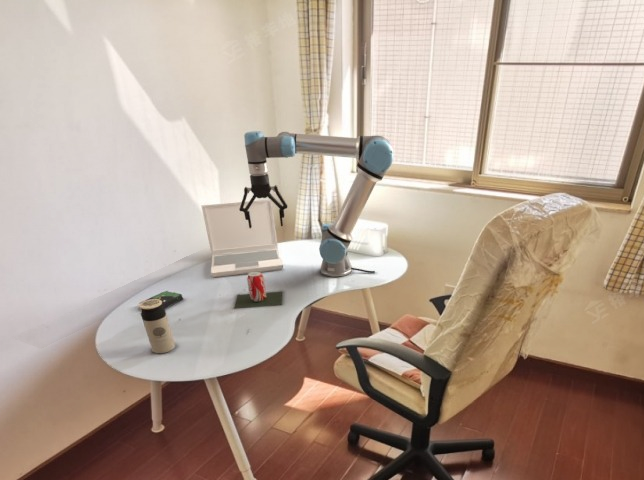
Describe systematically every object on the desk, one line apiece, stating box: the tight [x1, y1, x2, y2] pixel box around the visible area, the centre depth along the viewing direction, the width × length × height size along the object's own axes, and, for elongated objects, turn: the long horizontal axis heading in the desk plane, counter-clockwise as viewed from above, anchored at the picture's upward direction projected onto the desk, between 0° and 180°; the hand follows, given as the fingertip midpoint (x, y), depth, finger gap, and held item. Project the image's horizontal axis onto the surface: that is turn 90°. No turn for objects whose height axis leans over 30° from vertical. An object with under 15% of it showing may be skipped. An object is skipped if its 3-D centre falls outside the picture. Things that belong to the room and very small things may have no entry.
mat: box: [233, 291, 283, 309], centre depth 201 cm, size 20×14×1 cm
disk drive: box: [138, 290, 184, 310], centre depth 200 cm, size 10×3×15 cm
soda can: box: [246, 271, 267, 302], centre depth 197 cm, size 7×7×12 cm
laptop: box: [201, 199, 284, 278], centre depth 229 cm, size 35×26×28 cm
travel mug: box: [138, 299, 176, 354], centre depth 163 cm, size 8×8×18 cm
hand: (266, 226), depth 200 cm, fingers open, 13 cm apart
